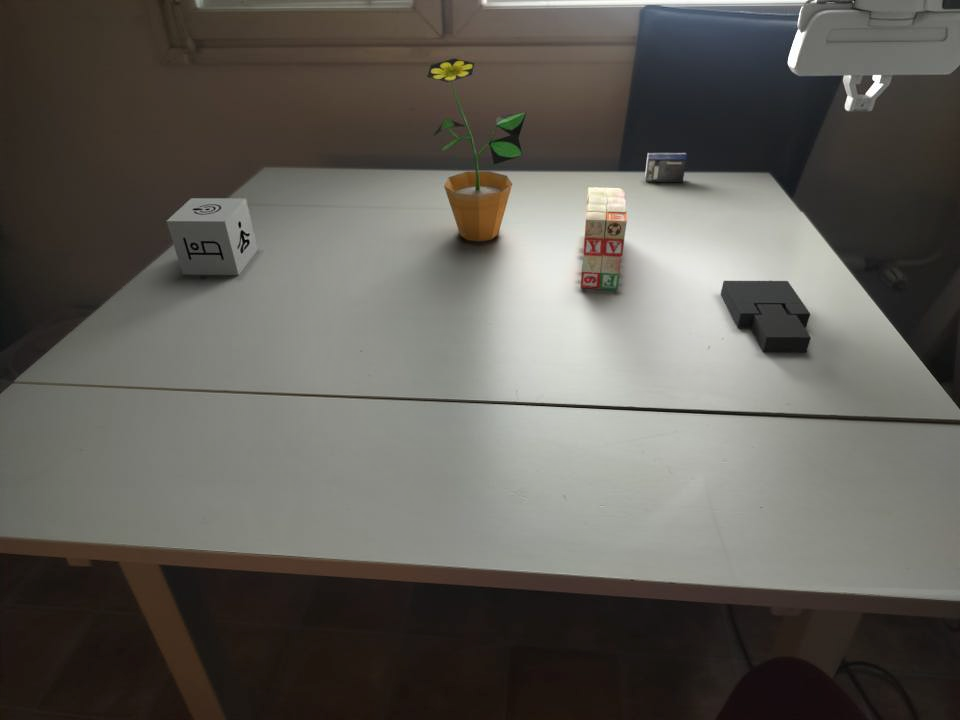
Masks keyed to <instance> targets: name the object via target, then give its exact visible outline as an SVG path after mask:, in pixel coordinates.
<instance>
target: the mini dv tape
mask: <svg viewBox="0 0 960 720" xmlns="http://www.w3.org/2000/svg"><path fill="white" fill-rule="evenodd" d="M687 158H688V155H687V153H686V152H647V156H646V163H645V173H644V180H645V181H644V182H646V183H683V182H684V177H685V173H686V172H685V171H686V165H687Z"/></svg>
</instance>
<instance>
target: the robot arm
mask: <svg viewBox="0 0 960 720" xmlns="http://www.w3.org/2000/svg"><path fill="white" fill-rule="evenodd" d="M787 66H788V68H789V69H790V71H791V72H792V73H793V74H794V75H797V76H798V77H828V76H829V77H832V76H833V77H837V76H841V77H843V78H842V83H843V86H844V90H845V92H846V93H845V94H846V95H847V96H846V99H845V103H844V110H845V111H846V112H871V111H873V109H874V106H875V103H876V100H877V99H878V97H880V96H881V94H883V92H884V91H885V90H886V89H887V88H888V87H889V86H890V84H891V81H892V79H893V76H920V75H921V76H929V75H930V76H935V75H936V76H939V75H941V76H943V75H945V76H946V75H947V76H948V75H950V74H952V73H953V72H954V71H955V70H956V69H957V68H959V67H960V0H806V2H804V3H803V5H802V6H801V8H800V11H799V16H798V20H797V31H796V34H795V36H794V39H793V42H792V44H791V48H790V50H789V55H788V59H787ZM863 76H872V81H873V82H874V83H873V84H872V85H871V86H870V88H869V89H868V90H867V91H866V92H865V94H858V90H857V86H856V85H861V83H862V81H863Z"/></svg>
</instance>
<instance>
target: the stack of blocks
mask: <svg viewBox="0 0 960 720" xmlns="http://www.w3.org/2000/svg"><path fill="white" fill-rule="evenodd" d="M625 193H626V192H625V190H623V189H622V188H620V187H587V196H586V197H587V198H586V209H585V210H586V211H585V226H584V237H583V251H582V252H583V253H582V255H583V257H582V264H581V275H580V288H581V289H593V290H595V289H596V290H599V289H600V290H613V291H618V290H619V285H620V278H621V267H622V259H623V255H624V246H625V236H626V230H627V223H628V220H627V219H628V217H627V201H626V194H625Z"/></svg>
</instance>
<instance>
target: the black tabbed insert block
mask: <svg viewBox="0 0 960 720" xmlns="http://www.w3.org/2000/svg"><path fill="white" fill-rule="evenodd" d="M756 308H757V310H758V312H759V315H754V318H753V322H752V326H751V328H750V330H751V332H752V334H753V336H754V338H755V339H756V342H757V343H758V345H759V347H760V349H761V351H762V352H763V353H807V351H808V348H809V345H810V342H811V339H812V337H811V335H810V333H809V332H808V331H807V328H804V326H803V325H802V323H801V321H800V320H799V318H798V317H797V315H787V313H786V311H785V310H784V308H783V307H782V305H781V304H757V305H756Z"/></svg>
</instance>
